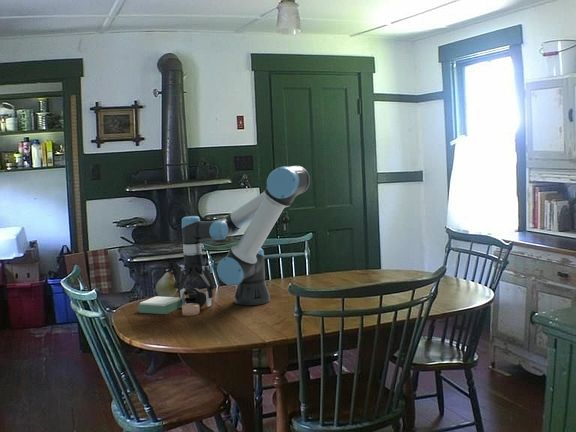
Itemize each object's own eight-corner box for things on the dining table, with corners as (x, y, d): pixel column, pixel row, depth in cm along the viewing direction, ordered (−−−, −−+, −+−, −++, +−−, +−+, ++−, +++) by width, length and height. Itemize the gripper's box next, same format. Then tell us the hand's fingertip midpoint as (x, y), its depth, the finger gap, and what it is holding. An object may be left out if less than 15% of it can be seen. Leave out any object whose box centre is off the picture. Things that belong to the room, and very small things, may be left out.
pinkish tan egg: (202, 312, 280) (202, 303, 280) (194, 316, 273) (193, 307, 273) (187, 311, 283) (187, 302, 282) (178, 315, 276) (178, 306, 276)
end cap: (207, 307, 286) (206, 291, 285) (190, 309, 284) (189, 293, 283) (201, 302, 295) (200, 286, 295) (185, 304, 293) (184, 288, 292)
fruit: (182, 296, 310) (181, 270, 308) (165, 300, 303) (163, 273, 302) (169, 294, 317) (167, 268, 316) (151, 298, 310) (150, 271, 309)
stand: (182, 306, 290) (182, 297, 290) (165, 314, 278) (165, 304, 278) (156, 305, 295) (155, 295, 295) (138, 312, 283) (137, 302, 283)
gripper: (222, 252, 286) (225, 304, 288) (172, 252, 295) (176, 302, 297) (213, 255, 279) (217, 308, 281) (163, 254, 288) (166, 306, 291)
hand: (196, 305), depth 289 cm, fingers closed on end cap, 11 cm apart
